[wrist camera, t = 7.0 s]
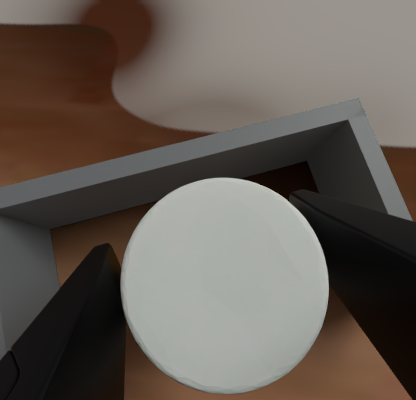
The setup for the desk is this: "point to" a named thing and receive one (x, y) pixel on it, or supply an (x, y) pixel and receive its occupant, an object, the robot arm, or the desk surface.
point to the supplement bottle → (224, 285)
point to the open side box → (175, 178)
